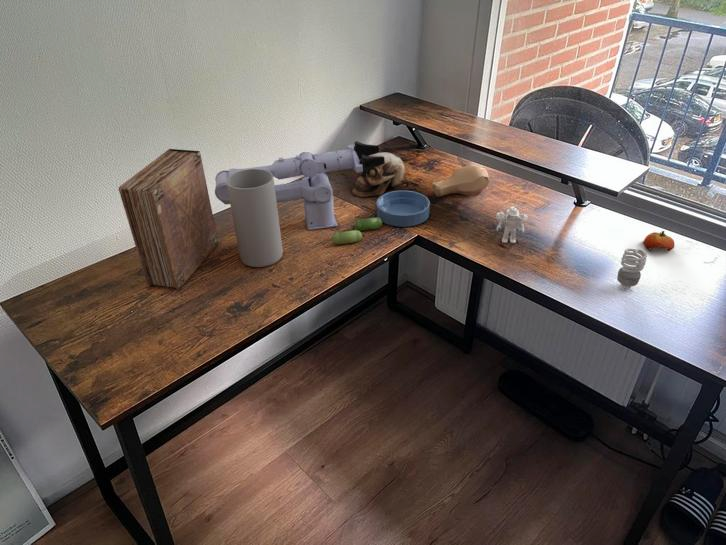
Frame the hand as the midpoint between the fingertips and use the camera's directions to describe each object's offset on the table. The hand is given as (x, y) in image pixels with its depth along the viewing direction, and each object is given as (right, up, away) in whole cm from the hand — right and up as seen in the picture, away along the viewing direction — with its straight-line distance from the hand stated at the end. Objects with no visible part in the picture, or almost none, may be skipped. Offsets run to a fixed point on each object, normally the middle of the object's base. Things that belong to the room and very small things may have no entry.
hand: (381, 154), depth 170 cm
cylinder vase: (-35, -31, -6) cm, 48 cm away
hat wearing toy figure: (+38, -27, -2) cm, 47 cm away
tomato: (+81, -29, -7) cm, 86 cm away
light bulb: (+63, -40, -23) cm, 79 cm away
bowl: (+7, -17, +12) cm, 22 cm away
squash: (+28, -8, +25) cm, 38 cm away
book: (-57, -34, -8) cm, 67 cm away
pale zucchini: (-10, -27, -1) cm, 29 cm away
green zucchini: (-4, -22, +5) cm, 23 cm away
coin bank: (0, -6, +29) cm, 29 cm away
